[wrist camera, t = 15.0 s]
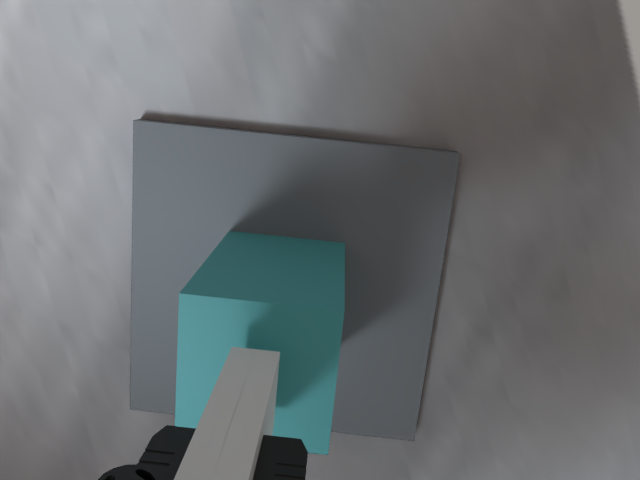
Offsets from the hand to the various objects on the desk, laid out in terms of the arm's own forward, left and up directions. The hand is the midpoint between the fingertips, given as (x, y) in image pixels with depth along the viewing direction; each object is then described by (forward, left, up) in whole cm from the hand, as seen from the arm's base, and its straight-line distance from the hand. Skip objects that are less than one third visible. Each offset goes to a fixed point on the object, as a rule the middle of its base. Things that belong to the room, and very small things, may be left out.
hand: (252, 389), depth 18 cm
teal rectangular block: (0, 0, -9) cm, 9 cm away
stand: (0, 0, -10) cm, 10 cm away
